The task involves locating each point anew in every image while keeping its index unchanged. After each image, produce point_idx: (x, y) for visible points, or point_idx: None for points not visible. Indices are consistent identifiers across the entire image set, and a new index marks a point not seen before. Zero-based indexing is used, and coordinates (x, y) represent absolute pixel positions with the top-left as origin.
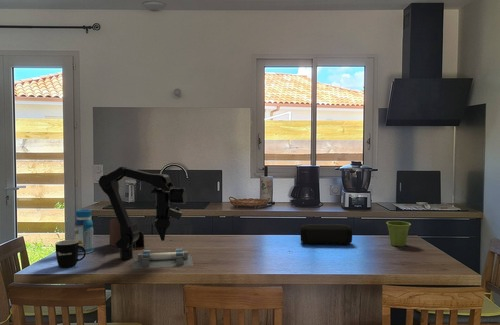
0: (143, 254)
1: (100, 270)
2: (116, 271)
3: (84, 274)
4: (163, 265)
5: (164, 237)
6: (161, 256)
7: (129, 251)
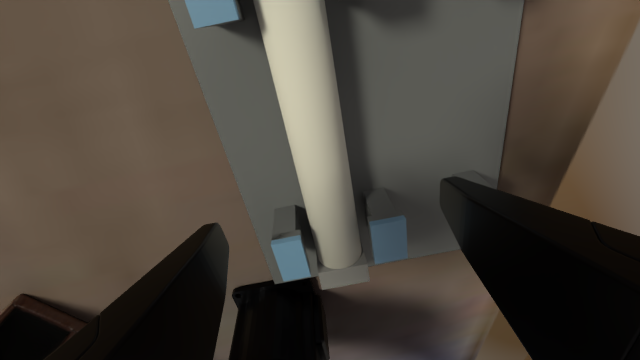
0: (396, 255)
1: (437, 335)
2: (468, 287)
3: (474, 357)
4: (468, 84)
5: (498, 194)
6: (344, 136)
7: (313, 336)
